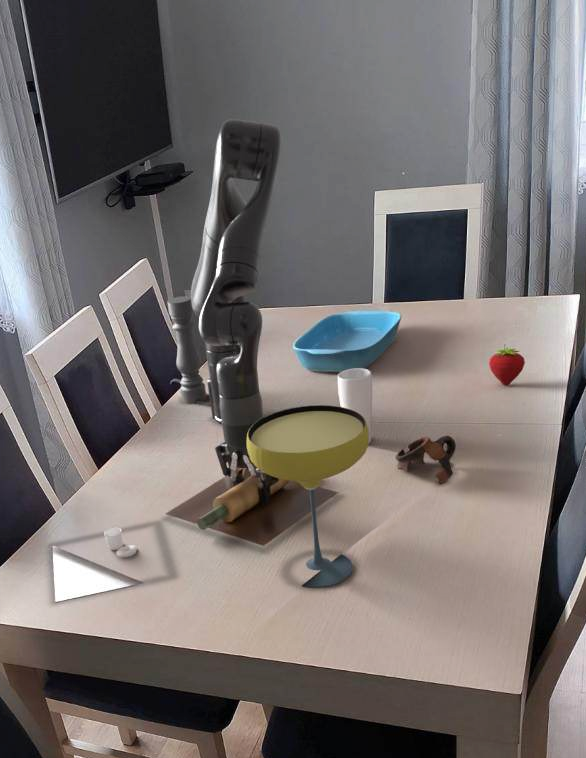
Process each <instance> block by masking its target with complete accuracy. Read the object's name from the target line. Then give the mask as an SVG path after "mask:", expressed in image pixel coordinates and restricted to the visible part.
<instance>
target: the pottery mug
mask: <svg viewBox="0 0 586 758" xmlns="http://www.w3.org/2000/svg"><path fill="white" fill-rule="evenodd" d="M445 445H446V450H445ZM406 448H407V451H406V452H405V449H404V448H402V449H401V450H399V452H397V454H396V455H395V460H396V461H397V469H398V470H404V471H405V472H407V473H409V472H410V464H413V465H418V466H424V465H426V462H425V455H426V454H427V455H428V456H429V459H431V460H433V461H437V462H438V463H439V464H440V466H441V468H440V470H438V472H435V474H434V475H435V478H436V479H437V480H438V483H439V485H442V484H443V483H445V482H447V481H448V480H449V479H450V478H451V477H452V476H453V474H454V472H453V469H452V465H451V463H452V462H451V459H452V458H453V456H454V454H455V452H456V449H457V444H456V441H455V439H454V438H453V437H452V436H451V435H443V436H441V437H439V438H438V439H436V440H432V439H431V438H430V436H429V435H427V436H426V435H425V436H421V437H420V438H417V439H415V440H413V441H412V442H410V443H409V444H408V445H407V446H406ZM425 453H426V454H425Z"/></svg>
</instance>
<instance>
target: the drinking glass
mask: <svg viewBox="0 0 586 758" xmlns="http://www.w3.org/2000/svg"><path fill="white" fill-rule="evenodd" d="M337 393H338V400H339V407H343V408H347V409H351V410H353V411H355V412H357V413H359V414H360V415H362V416H363V417H364V419H365V421H366V423H367V426H368V432H369V443H368V444H370V443H371V442H372V413H373V412H372V411H373V379H372V372H371V370H370V369H367V368H364V369H362V368H354V369H348V370H344V371H342V372H338V374H337Z"/></svg>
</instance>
